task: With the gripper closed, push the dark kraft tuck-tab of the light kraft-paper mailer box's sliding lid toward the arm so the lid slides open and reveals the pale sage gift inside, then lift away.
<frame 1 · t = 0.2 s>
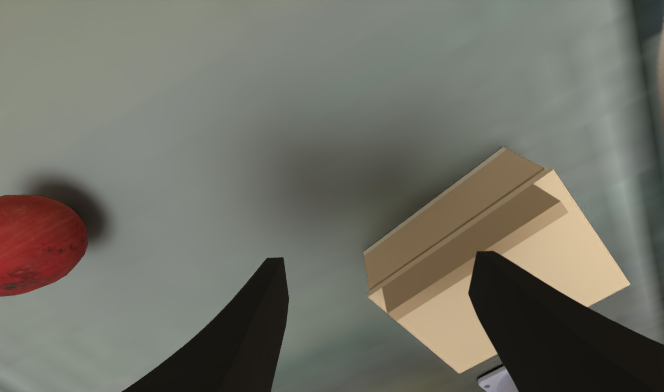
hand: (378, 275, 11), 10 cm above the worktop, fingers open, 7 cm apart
onion: (75, 212, 21), on the worktop
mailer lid: (504, 300, 17), point 5 cm above the worktop, slide at 0.0 cm
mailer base: (465, 246, 22), on the worktop
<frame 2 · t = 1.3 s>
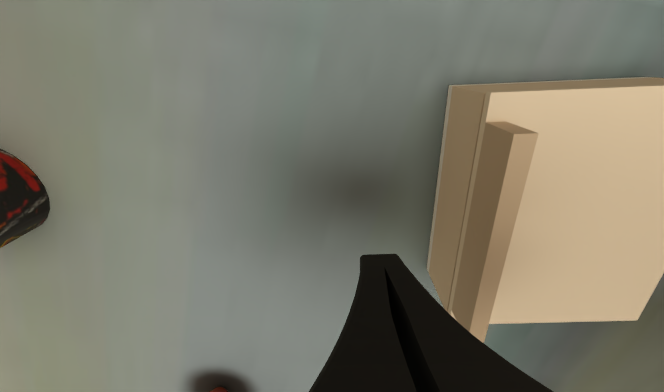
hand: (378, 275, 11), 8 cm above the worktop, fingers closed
deodorant: (1, 188, 18), on the worktop
onion: (223, 386, 26), on the worktop
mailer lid: (591, 237, 13), point 5 cm above the worktop, slide at 0.0 cm
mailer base: (519, 187, 18), on the worktop
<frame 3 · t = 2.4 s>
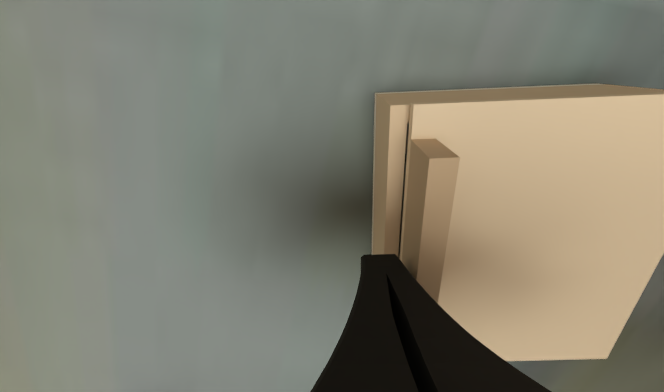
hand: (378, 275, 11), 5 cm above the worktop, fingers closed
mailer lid: (544, 272, 11), point 5 cm above the worktop, slide at 0.7 cm, touching gripper
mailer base: (464, 205, 16), on the worktop
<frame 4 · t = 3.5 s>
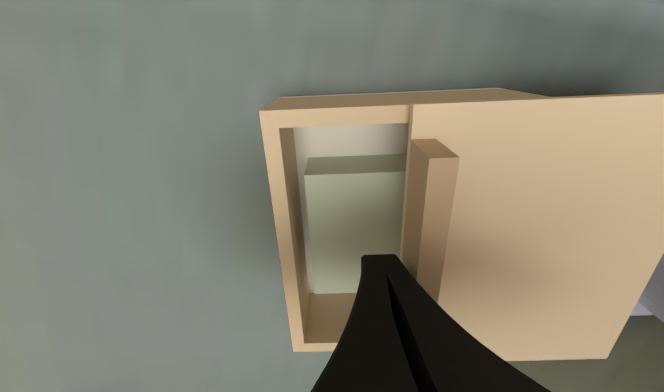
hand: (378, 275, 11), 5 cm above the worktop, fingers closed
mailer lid: (544, 272, 11), point 6 cm above the worktop, slide at 5.1 cm, touching gripper
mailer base: (383, 208, 16), on the worktop
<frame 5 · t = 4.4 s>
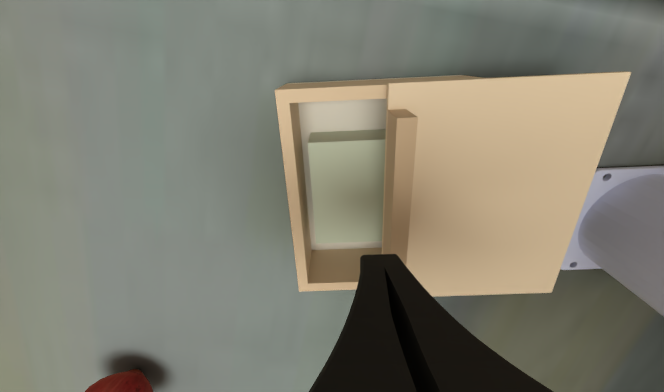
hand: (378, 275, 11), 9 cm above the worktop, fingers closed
onion: (140, 368, 28), on the worktop
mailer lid: (491, 212, 14), point 5 cm above the worktop, slide at 5.2 cm
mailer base: (372, 176, 19), on the worktop
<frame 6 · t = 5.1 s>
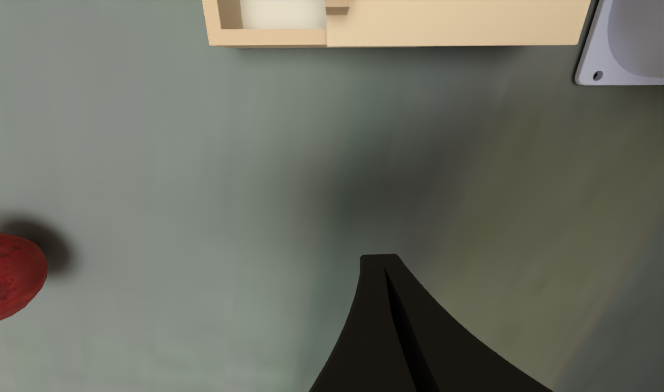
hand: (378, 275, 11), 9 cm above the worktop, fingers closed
onion: (37, 243, 22), on the worktop
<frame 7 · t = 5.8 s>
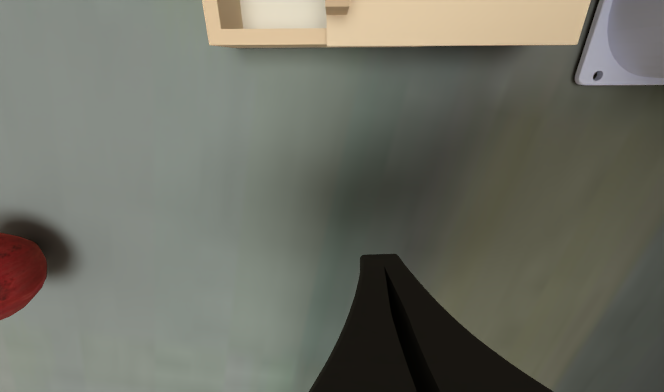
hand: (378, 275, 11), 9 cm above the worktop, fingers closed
onion: (37, 243, 22), on the worktop
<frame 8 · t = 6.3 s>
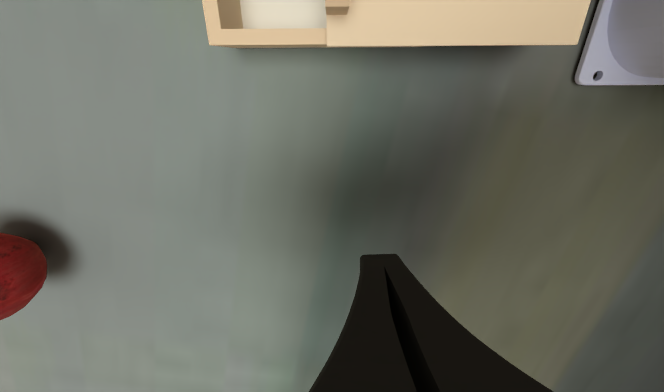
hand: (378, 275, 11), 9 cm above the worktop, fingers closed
onion: (37, 243, 22), on the worktop
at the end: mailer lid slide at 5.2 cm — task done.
